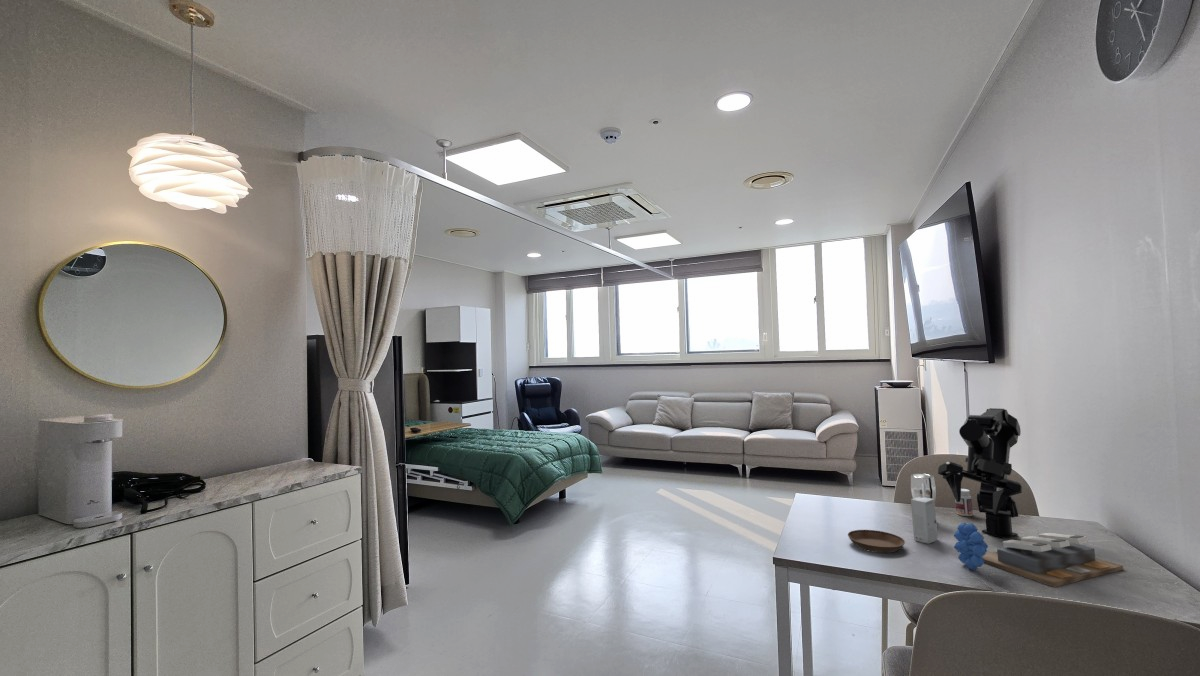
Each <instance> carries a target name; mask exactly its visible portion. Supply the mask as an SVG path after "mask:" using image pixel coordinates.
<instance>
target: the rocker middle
mask: <svg viewBox="0 0 1200 676" xmlns="http://www.w3.org/2000/svg"><path fill="white" fill-rule="evenodd" d="M1020 541H1026V542H1034V543H1045V544H1049V545H1050V546H1051V547H1059V548H1062V547H1066V546H1070V543H1069V541H1067V540H1063V539H1050V538H1042V537H1039V536H1032V535H1030V536H1023V537H1021V538H1020Z"/></svg>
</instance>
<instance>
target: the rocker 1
mask: <svg viewBox="0 0 1200 676" xmlns="http://www.w3.org/2000/svg"><path fill="white" fill-rule="evenodd" d="M1002 546H1003V548H1005V547H1011V548H1018V549H1025V550H1032V551H1039V552H1043V551H1048V550H1052V549H1051V546H1050V545H1049V544H1045V543H1034V542H1026V541H1021V540H1015V539H1009V540H1004V541H1002Z"/></svg>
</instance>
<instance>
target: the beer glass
mask: <svg viewBox="0 0 1200 676" xmlns="http://www.w3.org/2000/svg"><path fill="white" fill-rule="evenodd" d="M936 491H937V489H936V482H935V476H934V475H932V474H926V473H912V474H910V492H911V496H912V499H914V498H918V497H925V498H931V499H934V504H935V505H936V493H937V492H936Z"/></svg>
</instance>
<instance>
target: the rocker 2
mask: <svg viewBox="0 0 1200 676" xmlns="http://www.w3.org/2000/svg"><path fill="white" fill-rule="evenodd" d="M1038 537H1042V538H1050V539H1063V540H1067V541H1069V543H1076V544H1080V545H1081V544H1084V543H1088V542H1089V539H1088V537H1087V536H1085V535H1077V534H1075V535H1072V534H1063V533H1054V532H1044V533H1039V534H1038Z"/></svg>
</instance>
